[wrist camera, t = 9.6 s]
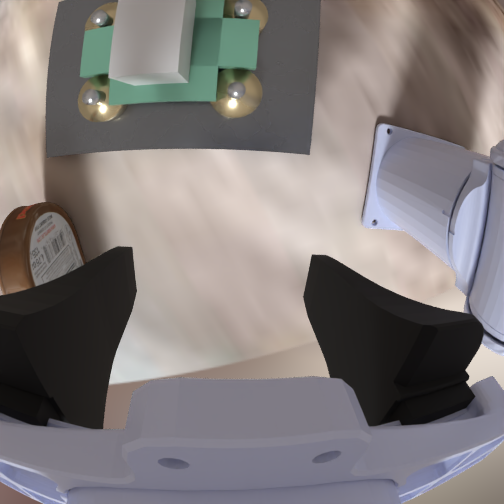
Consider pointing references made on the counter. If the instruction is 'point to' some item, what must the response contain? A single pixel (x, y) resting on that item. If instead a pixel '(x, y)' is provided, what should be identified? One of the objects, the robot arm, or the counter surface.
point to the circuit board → (206, 57)
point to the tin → (37, 247)
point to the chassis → (190, 112)
